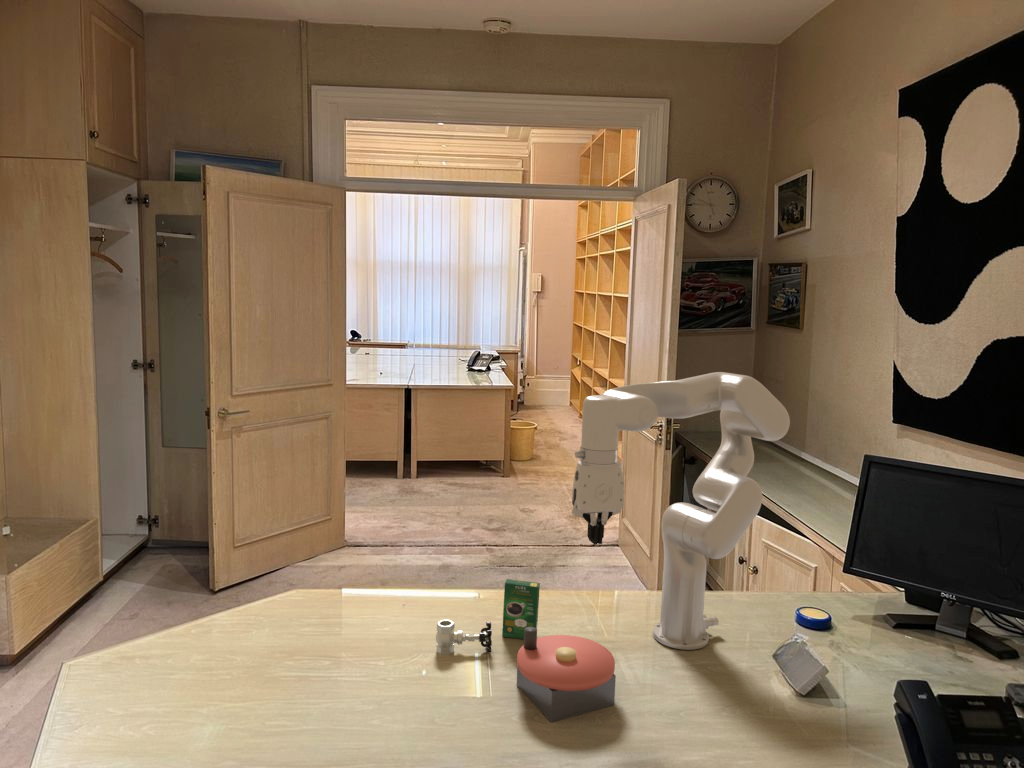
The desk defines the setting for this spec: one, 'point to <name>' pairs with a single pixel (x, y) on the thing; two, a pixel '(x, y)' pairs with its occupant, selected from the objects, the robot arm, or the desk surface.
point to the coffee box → (520, 607)
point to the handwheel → (564, 661)
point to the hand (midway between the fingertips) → (595, 541)
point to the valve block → (567, 698)
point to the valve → (459, 637)
